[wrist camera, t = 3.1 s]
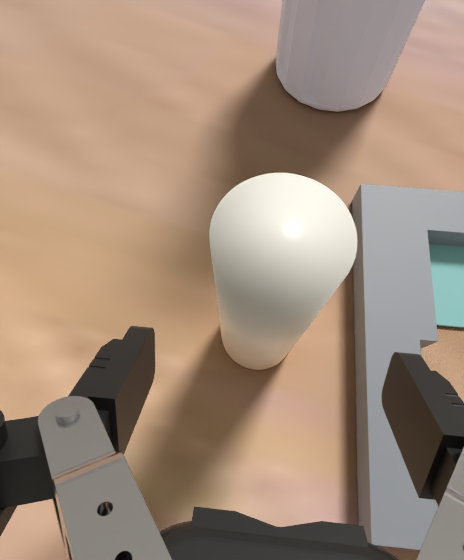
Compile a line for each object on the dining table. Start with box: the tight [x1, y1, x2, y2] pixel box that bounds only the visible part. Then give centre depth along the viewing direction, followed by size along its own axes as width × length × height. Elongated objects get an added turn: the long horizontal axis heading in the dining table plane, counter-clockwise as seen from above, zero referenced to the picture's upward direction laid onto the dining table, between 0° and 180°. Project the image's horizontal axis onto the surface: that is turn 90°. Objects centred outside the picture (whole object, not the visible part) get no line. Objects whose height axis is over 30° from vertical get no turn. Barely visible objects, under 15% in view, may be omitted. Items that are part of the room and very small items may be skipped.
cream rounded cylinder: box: [209, 173, 357, 370], centre depth 18 cm, size 4×4×13 cm
